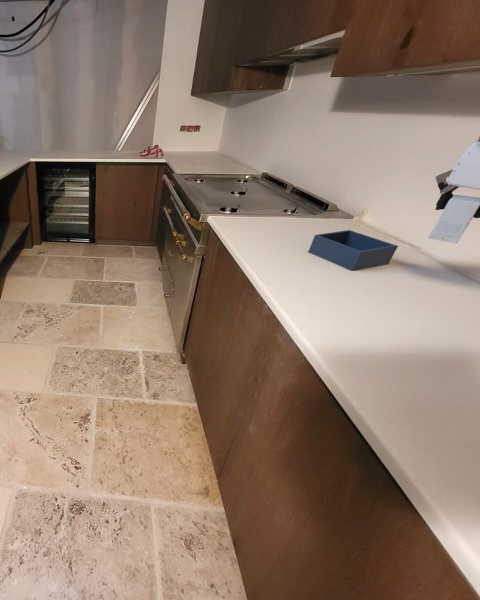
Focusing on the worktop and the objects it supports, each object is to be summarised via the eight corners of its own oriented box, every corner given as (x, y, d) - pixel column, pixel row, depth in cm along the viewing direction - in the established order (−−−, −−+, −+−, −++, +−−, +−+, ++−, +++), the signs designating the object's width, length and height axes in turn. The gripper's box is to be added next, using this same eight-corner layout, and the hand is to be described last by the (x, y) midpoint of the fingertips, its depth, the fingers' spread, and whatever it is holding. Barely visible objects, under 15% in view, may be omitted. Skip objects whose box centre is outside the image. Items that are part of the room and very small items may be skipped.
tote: (341, 246, 108) (349, 229, 105) (388, 264, 96) (398, 245, 93) (308, 251, 104) (314, 234, 101) (352, 270, 93) (361, 252, 90)
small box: (456, 244, 83) (481, 203, 78) (427, 238, 87) (449, 199, 82) (461, 236, 88) (485, 197, 82) (433, 231, 91) (454, 194, 86)
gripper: (570, 139, 68) (514, 221, 78) (465, 134, 83) (428, 203, 92) (548, 141, 67) (494, 224, 76) (445, 136, 81) (410, 206, 90)
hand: (458, 212), depth 84 cm, fingers closed on small box, 7 cm apart
